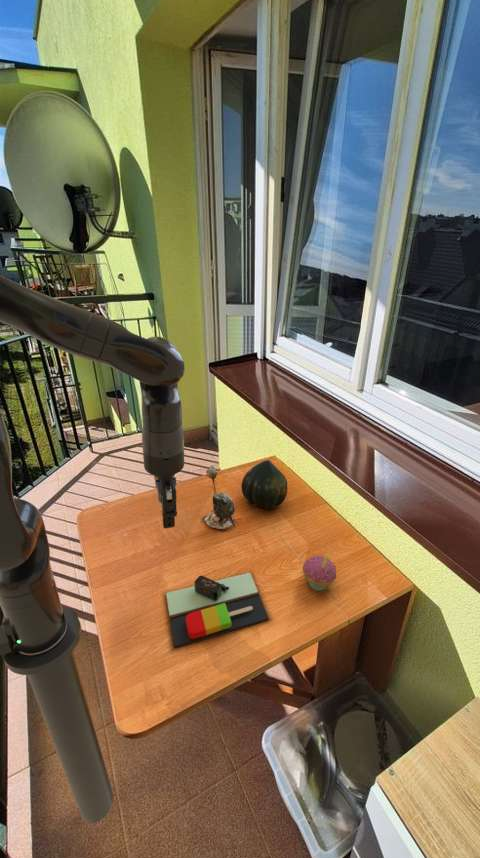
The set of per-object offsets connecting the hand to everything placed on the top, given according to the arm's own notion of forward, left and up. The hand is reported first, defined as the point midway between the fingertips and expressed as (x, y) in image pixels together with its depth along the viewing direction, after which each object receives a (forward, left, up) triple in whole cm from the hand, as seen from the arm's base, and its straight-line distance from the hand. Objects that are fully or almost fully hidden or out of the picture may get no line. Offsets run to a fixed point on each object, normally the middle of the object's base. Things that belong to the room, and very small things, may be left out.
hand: (166, 513), depth 79 cm
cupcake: (+35, -8, -25) cm, 44 cm away
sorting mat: (+9, -7, -25) cm, 27 cm away
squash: (+33, +28, -25) cm, 50 cm away
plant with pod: (+17, +21, -25) cm, 37 cm away
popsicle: (+9, -11, -24) cm, 28 cm away
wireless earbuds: (+9, -3, -24) cm, 26 cm away
